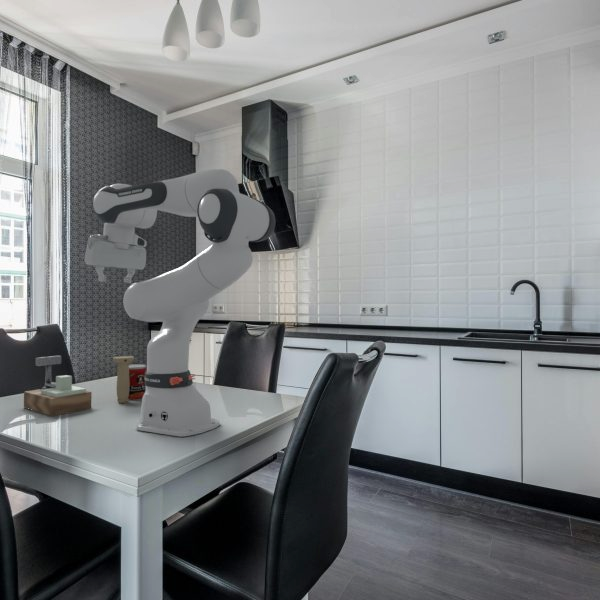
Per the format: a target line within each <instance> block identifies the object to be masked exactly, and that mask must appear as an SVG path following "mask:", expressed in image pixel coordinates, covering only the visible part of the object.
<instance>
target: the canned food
mask: <svg viewBox="0 0 600 600" xmlns="http://www.w3.org/2000/svg"><path fill="white" fill-rule="evenodd" d="M146 371H147V364H139V363H138V364H136V363H135V364H134V363H133V364H129V382H130V384H129V385H130V386H129V387H130V388H129V396H128V398H129V399H128V400H140V398H141V399H142V398H143V395H144V393H145V390H146V385H145V372H146Z"/></svg>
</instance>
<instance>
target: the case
mask: <svg viewBox="0 0 600 600" xmlns="http://www.w3.org/2000/svg"><path fill="white" fill-rule="evenodd" d="M41 390H42V388H41V389H40V388H39V389H32V390H26V391H23V408H24V407H25V408H24V409H26V408H29V409H28V410H30V409H32V410H31V411H33V410H35V411H34V412H36V411H38V412H37V413H39V412H41V413H40V414H43V415H46V414H47V415H48V416H49V415H50V416H49V417H53V416H58V415H63V414H64V415H65V414H67V413H73V412H77V411H83V410H87V409H91V408H92V391H90V390H86V393H80V394H74V395H69V396H63V397H57V398H55V397H51V396H47V395H43V394H41ZM47 415H46V416H47Z"/></svg>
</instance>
